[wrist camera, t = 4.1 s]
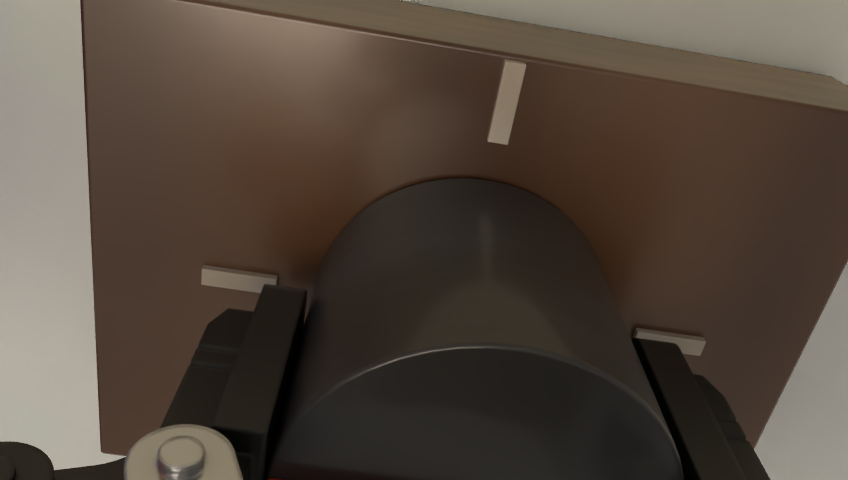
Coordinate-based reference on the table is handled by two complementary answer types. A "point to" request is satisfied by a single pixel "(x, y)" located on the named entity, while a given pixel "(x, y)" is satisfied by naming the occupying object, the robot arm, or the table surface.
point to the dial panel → (446, 173)
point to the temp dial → (467, 351)
